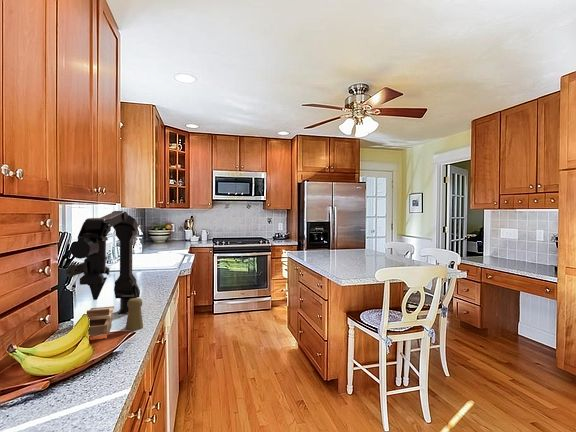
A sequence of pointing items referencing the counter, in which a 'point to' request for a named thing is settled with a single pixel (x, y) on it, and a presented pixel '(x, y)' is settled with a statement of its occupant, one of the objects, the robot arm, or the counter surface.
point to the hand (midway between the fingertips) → (95, 299)
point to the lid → (100, 313)
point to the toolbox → (100, 326)
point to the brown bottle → (134, 315)
